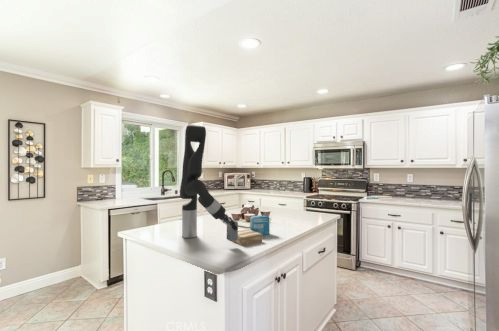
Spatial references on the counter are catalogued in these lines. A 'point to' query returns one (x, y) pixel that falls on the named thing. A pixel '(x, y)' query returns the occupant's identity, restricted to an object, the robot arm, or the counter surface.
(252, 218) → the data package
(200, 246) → the counter surface
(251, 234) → the oak block
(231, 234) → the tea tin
